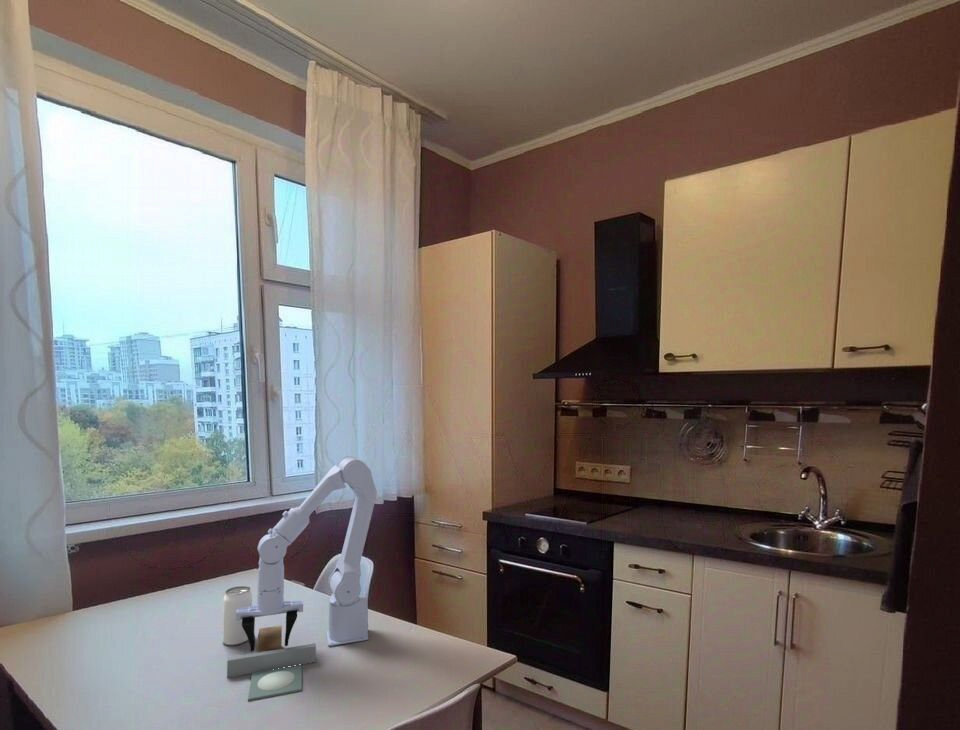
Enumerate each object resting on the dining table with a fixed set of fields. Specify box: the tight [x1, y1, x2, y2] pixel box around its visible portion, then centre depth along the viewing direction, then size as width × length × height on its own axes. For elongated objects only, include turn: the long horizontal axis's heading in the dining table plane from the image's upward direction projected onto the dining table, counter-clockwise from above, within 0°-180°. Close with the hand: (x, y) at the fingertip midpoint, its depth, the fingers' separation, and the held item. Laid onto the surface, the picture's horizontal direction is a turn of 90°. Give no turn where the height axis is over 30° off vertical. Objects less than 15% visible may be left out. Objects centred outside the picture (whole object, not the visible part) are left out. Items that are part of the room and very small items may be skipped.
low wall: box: [226, 643, 317, 679], centre depth 112 cm, size 18×2×4 cm, turn 110°
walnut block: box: [256, 625, 283, 653], centre depth 118 cm, size 5×5×5 cm
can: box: [221, 585, 253, 646], centre depth 125 cm, size 6×6×12 cm
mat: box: [247, 665, 303, 702], centre depth 106 cm, size 10×10×1 cm
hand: (269, 646), depth 118 cm, fingers open, 7 cm apart
